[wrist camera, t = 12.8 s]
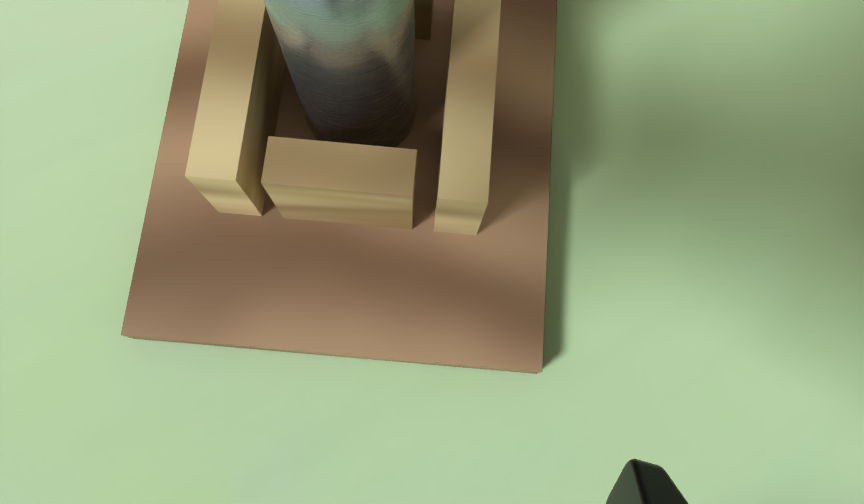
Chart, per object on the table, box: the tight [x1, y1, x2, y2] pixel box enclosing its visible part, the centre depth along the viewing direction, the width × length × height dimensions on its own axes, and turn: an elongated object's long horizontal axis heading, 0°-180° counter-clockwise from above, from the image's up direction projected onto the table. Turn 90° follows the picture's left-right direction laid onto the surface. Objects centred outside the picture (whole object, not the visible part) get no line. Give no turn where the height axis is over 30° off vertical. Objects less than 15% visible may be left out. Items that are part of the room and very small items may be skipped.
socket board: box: [121, 0, 557, 374], centre depth 22 cm, size 18×14×4 cm
